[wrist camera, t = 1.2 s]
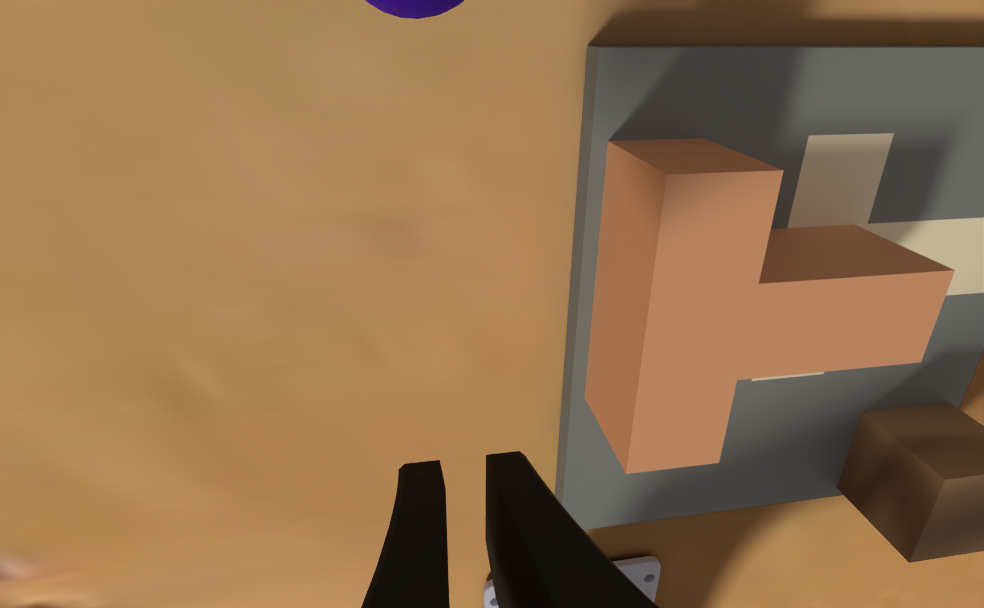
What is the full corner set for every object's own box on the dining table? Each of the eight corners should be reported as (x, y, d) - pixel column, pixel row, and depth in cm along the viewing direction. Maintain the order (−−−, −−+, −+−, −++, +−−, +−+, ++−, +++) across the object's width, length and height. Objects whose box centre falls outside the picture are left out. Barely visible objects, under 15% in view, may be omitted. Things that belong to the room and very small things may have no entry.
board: (910, 468, 28) (927, 483, 27) (553, 514, 25) (560, 533, 24) (1078, 45, 20) (1111, 47, 19) (587, 45, 17) (599, 47, 17)
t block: (584, 397, 22) (626, 473, 18) (607, 140, 18) (667, 174, 14) (811, 375, 23) (891, 441, 20) (880, 133, 19) (995, 162, 16)
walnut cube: (917, 476, 27) (1000, 548, 23) (836, 487, 26) (909, 562, 23) (948, 401, 25) (1042, 466, 22) (862, 411, 24) (945, 479, 21)
